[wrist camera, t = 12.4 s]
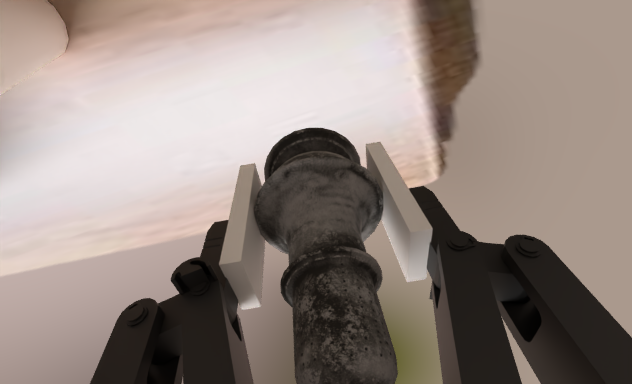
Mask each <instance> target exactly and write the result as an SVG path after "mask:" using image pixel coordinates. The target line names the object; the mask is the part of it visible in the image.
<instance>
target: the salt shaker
mask: <svg viewBox="0 0 632 384" xmlns="http://www.w3.org/2000/svg"><path fill="white" fill-rule="evenodd" d="M264 173H265V183H264V184H263V186H262V187H261V189H260V191H259V192H258V194H257V198H256V202H255V206H254V216H255V220H256V223H257V226H258V228H259V231H260V234H261V235H262V236H263V238H264V239H265V240H266V241H267V242H268V243H269V244H270V245H272V246H273V247H275V248H276V249H278V250H279V251H281V252H283V253H286V254H289V266H288V268H287V269H286V270H285V271H284V273H283V276H282V279H281V293H282V295H283V298H284V300H285V301H286V302H287V303H288V304H289V305H290V306H291V307H293V332H294V360H295V378H296V383H297V384H395V381H396V378H397V374H398V373H397V362H396V355H395V351H394V348H393V345H392V342H391V338H390V335H389V332H388V329H387V325H386V322H385V319H384V316H383V312H382V309H381V306H380V302H379V299H378V296H377V291H378V289H379V288H380V285H381V282H382V271H381V268H380V266H379V264H378V263H377V261H376V260H375V259H374V258H373V257H372V256H371V255H369V254H368V253H366V250H365V247H364V243H363V242H364V241H365V240H366V239H367V238H368V237H369V236H370V235H371V234H372V233H373V232H374V231H375V229H376V227H377V225H378V224H379V222H380V220H381V217H382V213H383V207H384V205H383V192H382V190H381V188H380V186H379V184H378V182H377V180H376V178H375V177H374V176H373V175H372V174H371V173H370V172H369V171H368V170H367V169H366V168H364V167H362V166H361V164H360V157H359V155H358V153H357V151H356V149H355V147H354V146H353V145H352V144H351V142H350V141H349V140H348V139H347V138H346V137H344V136H342V135H340V134H339V133H337V132H335V131H332V130H328V129H324V128H306V129H302V130H298V131H294V132H292V133H291V134H289V135H287V136H285V137H283V138H282V139H281V140H280V141H279V142H278V143H277V144H275V145H274V146H273V148H272V150H271V151H270V153H269V155H268V156H267V159H266V163H265V167H264Z"/></svg>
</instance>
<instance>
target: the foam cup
mask: <svg viewBox="0 0 632 384" xmlns="http://www.w3.org/2000/svg"><path fill="white" fill-rule="evenodd" d="M68 41H69V39H68V34H67V30H66V25H65V23H64V21H63V20H62V18H61V17H60V15H59V13H58V12H57V10H56V9H55V7H54V6H53V5H52V4H50V3H49V2H48V1H47V0H0V97H1V95H2V94H3V93H5V92H6V91H8V90H9V89H11V88H12V87H14V86H15V85H17V84H18V83H20V82H22V81H23V80H25V79H26V78H28V77H29V76H31V75H32V74H34V73H35V72H37V71H38V70H40V69H41V68H43V67H44V66H46V65H47V64H49V63H50V62H52V61H53V60H55V59H56V58H58V57H59V56H61V55H62V54H63V53H65V50H66V47H67V44H68Z"/></svg>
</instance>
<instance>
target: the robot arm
mask: <svg viewBox="0 0 632 384" xmlns="http://www.w3.org/2000/svg"><path fill="white" fill-rule="evenodd" d="M366 161H367V170H368V171H369V172H370V173H371V174H372V175H373V176H374V177H375V178H376V180H377V182H378V184H379V186H380V188H381V190H382V192H383V205H384V207H383V213H382V217H381V220H382V223H383V225H384V227H385V230H386V232H387V235H388V237H389V240H390V242H391V244H392V247H393V249H394V252H395V254H396V257H397V259H398V261H399V264H400V266H401V269H402V271H403V273H404V276H405V278H406V281H407V282H411V281H417V280H423V279H426V276H427V270H428V272H429V274H430V276H431V278H432V286H431V292H430V299H433V304H434V313H435V321H436V330H437V338H438V346H439V354H440V362H441V370H442V379H443V384H522V382H521V379H520V376H519V373H518V369H517V366H516V363H515V360H514V356H513V353H512V350H511V347H510V343H509V340H508V337H507V333H506V330H505V328H504V324H503V321H502V318H503V320H504V321H505V323H506V325H507V326H508V328H509V330H510V331H511V333H512V335H513V337H514V339H515V340H516V342H517V344H518V345H519V347H520V349H521V350H522V352H523V354H524V356H525V357H526V359H527V361H528V362H529V364H530V366H531V368H532V369H533V371H534V373H535V374H536V376H537V378H538V379H539V381H540V383H541V384H632V338H631V336H630V335H629V334H628V333H627V332H626V331H625V330H624V329H623V328H622V327H621V325H620V324H619V323H618V322H617V321H616V320H615V319H614V318H613V317H612V316H611V314H610V313H609V312H608V311H607V310H606V309H605V308H604V307H603V306H602V305H601V303H600V302H598V300H597V299H596V298H595V297H594V296H593V295H592V294H591V293H590V291H589V290H588V289H587V288H586V287H585V286H584V285H583V284H582V283H581V282H580V281H579V279H578V278H577V277H576V276H575V275H574V274H573V273H572V272H571V271H570V269H568V267H567V266H566V265H565V264H564V263H563V262H562V261H561V260H560V258H559V257H558V256H557V255H556V254H555V253H554V252H553V251H552V250H551V249H550V247H549V246H547V245H546V244H545V243H543V241H541V240H539V239H536V238H535V237H531V236H527V235H514V236H510V237H509V238H508V239H507V240H506V241H505V244H492V243H483V242H478V241H477V240H476V239H475V238H474V237H472V236H471V235H470V234H468V233H465V232H463V231H460V230H459V229H458V227H457V226H456V224H455V223H454V221H453V220H452V219H451V217H450V216H449V214H448V213H447V211H446V210H445V209H444V208H443V206H442V204H441V203H440V202H439V201H438V199H437V197H436V196H435V195H434V193H433V192H432V191H430V190H429V189H427V188H426V187H424V186H421V187H415V188H409V189H408V187H407V185H406V184H405V182H404V180H403V179H402V177H401V175H400V174H399V172H398V170H397V169H396V167H395V165H394V164H393V162H392V160H391V159H390V157H389V156H388V154H387V152H386V151H385V149H384V147H383V146H382V144H381V142H376V143H371V144H366ZM261 187H262V185H261V182H260V179H259V175H258V172H257V169H256V166H255V163H254V164H248V165H242V166H240V170H239V175H238V179H237V184H236V188H235V193H234V198H233V202H232V207H231V211H230V216H229V220H225V221H219V222H214V224H213V225H212V226H211V228H210V229H209V230H208V232H207V235H206V239H205V242H204V246H203V249H202V253H201V256H200V257H197V258H192V259H189V260H187V261H185V262H183V263H182V264H181V265H180V266H179V267H177V268H176V270H175V271H174V273H173V274H172V277H171V282H172V283H173V284H174V286H175V287H176V289H177V290H178V291H179V293H180V294H178V295H176V296H174V297H172V298H170V299H167V300H165V301H163V302H161V303H157V302H156V301H155V300H153V299H150V298H146V299H141V300H138V301H136V302H134V303H133V304H131V305H129V306H128V307H127V308H126V309H125V310H124V311H123V312H122V313H121V315H120V316H119V318H118V320H117V322H116V324H115V326H114V329H113V331H112V333H111V336H110V338H109V340H108V343H107V345H106V347H105V350H104V352H103V354H102V357H101V359H100V362H99V364H98V366H97V369H96V371H95V373H94V376H93V378H92V380H91V383H90V384H181V383H182V377H183V383H184V384H253V379H252V374H251V369H250V364H249V360H248V355H247V350H246V346H245V341H244V336H243V331H242V327H241V322H240V319H239V317H238V315H237V306H238V303H239V305H240V307H241V309H242V310H244V309H250V308H256V307H261V298H262V281H263V264H264V249H265V239H264V238H263V236H262V235H261V234H260V231H259V228H258V226H257V223H256V220H255V216H254V206H255V202H256V198H257V194H258V192H259V191H260V189H261ZM501 316H502V318H501Z"/></svg>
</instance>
